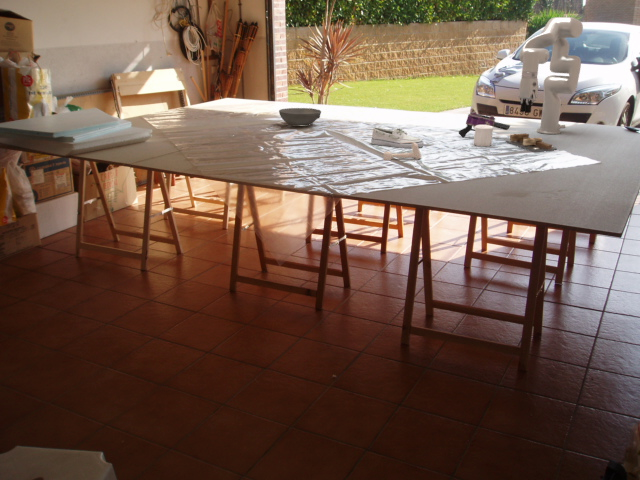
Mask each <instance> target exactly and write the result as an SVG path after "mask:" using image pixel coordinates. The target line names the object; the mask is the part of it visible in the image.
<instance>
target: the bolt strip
mask: <svg viewBox="0 0 640 480" xmlns="http://www.w3.org/2000/svg"><path fill="white" fill-rule="evenodd" d="M506 142H507V143H506ZM505 143H506V144H509V145H512V146H515V147H517V146H518V148H520V147H521V149H524V150H526V151H529V152H531V153H533V154H534V153H545V152H544V151H546V152H555V151H554V150H557V151H558V148H557V147H555V146H552V149H545V148H542V147H539V146H536V145H523V141H518V140H517V141H511V140H510V139H507V140H505Z"/></svg>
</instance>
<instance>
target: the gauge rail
mask: <svg viewBox="0 0 640 480" xmlns="http://www.w3.org/2000/svg"><path fill="white" fill-rule="evenodd" d="M527 138H530V134H529V133H513V134H510V135H509V140H511V141H517V140H518V141H523V139H527ZM536 146H539V147H542V148H545V149H552V147H553V144H549V143H546V142H544V141H542V142H541V141H536Z"/></svg>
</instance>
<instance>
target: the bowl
mask: <svg viewBox="0 0 640 480" xmlns="http://www.w3.org/2000/svg"><path fill="white" fill-rule="evenodd" d="M278 113H279V116H280V118H281V119H282V120H283V122H284V123H286V124H288V125H289V124H290V126H292V125H308V126H310V125H312V124H313V123H314V122H316V120H318V119H320V118H321V114H322V110H320V109H318V108H311V107H309V108H307V107H294V108H293V107H291V108H282V109H281V108H280V109H279V110H278ZM309 124H310V125H309Z"/></svg>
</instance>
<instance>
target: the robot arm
mask: <svg viewBox="0 0 640 480" xmlns="http://www.w3.org/2000/svg"><path fill="white" fill-rule="evenodd" d="M583 26H584V25H583V22H582V21H580V20H579V19H577V18H575V17H572V16H556V17H555V16H554V17H552V18H550V19H549V20H548V21H547V23H546V25H544V28H542V29H543V30H542V31H541V32H540V33H539V34H538V35H536V36H533V37H532V38H530V39H529V40H527V41H526V42H525V43H524V44H523V46H522V48H521V50H520V51H519V55H518V56H519V60H520V62H521V63H522V69H521V76H520V77H521V79H520V83H519V89H518V99H519V100H520V112H522V113H523V112H524V114H525V113H526V114H529V113H531V112H532V106H533V103H534V102H536V101H537V98H538V93H539V92H538V91H539V79H538V74H539V65H543V64H546V63H547V62H548V61H549V59H550V63H549V71H550V72H551V73H554V74H553V75H549V76H548V75H547V76H546V77H545V78H544V80H543V101H542V103H543V104H542V111H541V119H540V128H538V129H537V131H536V132H537V133H539V134H543V135H544V134H545V135H558V134H561V129H566V124H559V122H560V114H561V107H562V100H561V97H560V95H561V94H562V95H572V94H574V93H575V92H576V90H577V88H578V82H579V78H580V74H581V73H580V72H581V67H582V60H581V57H579V56H577V55H570V54H569V51H570V43H569V41H568V39H569V38H571V39H572V38H573V39H576V38H579V37H580V36H581V35H582V33H583V29H584V27H583ZM567 38H568V39H567ZM551 46H552V51H551V55H550V51H549V50H548V49H547V48H549V47H551ZM550 56H551V57H550ZM555 74H567V76H566V75H555Z"/></svg>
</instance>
